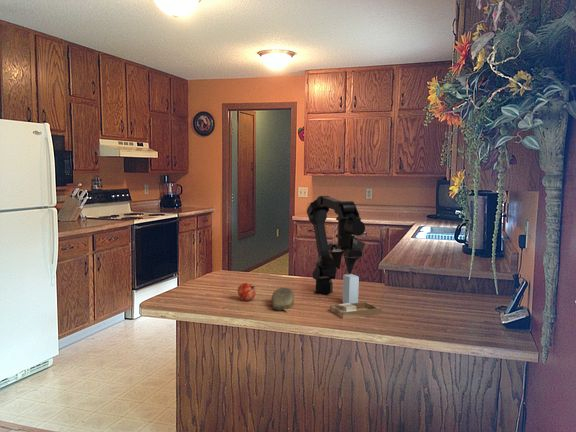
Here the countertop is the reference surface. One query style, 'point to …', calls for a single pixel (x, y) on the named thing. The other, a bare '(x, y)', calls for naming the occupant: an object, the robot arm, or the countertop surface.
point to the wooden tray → (357, 310)
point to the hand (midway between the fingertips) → (343, 271)
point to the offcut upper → (347, 307)
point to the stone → (282, 299)
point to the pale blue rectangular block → (350, 288)
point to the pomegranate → (246, 292)
